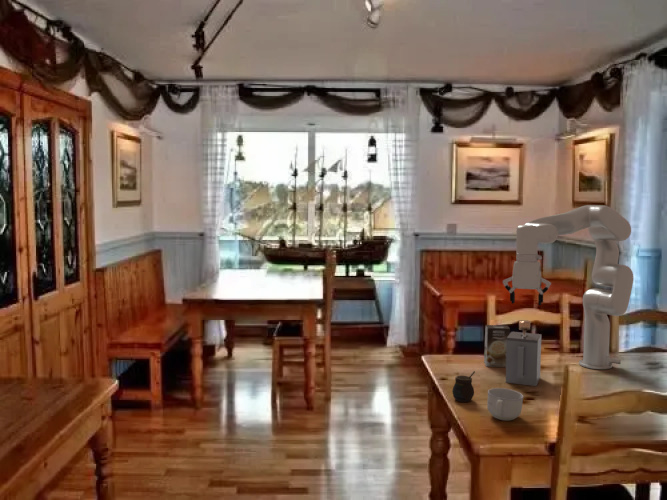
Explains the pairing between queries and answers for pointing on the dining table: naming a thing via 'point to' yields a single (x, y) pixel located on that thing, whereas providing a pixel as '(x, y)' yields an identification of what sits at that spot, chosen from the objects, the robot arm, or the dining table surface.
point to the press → (523, 358)
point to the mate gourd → (463, 388)
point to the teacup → (504, 403)
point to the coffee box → (496, 345)
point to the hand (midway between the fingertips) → (526, 303)
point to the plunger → (524, 326)
